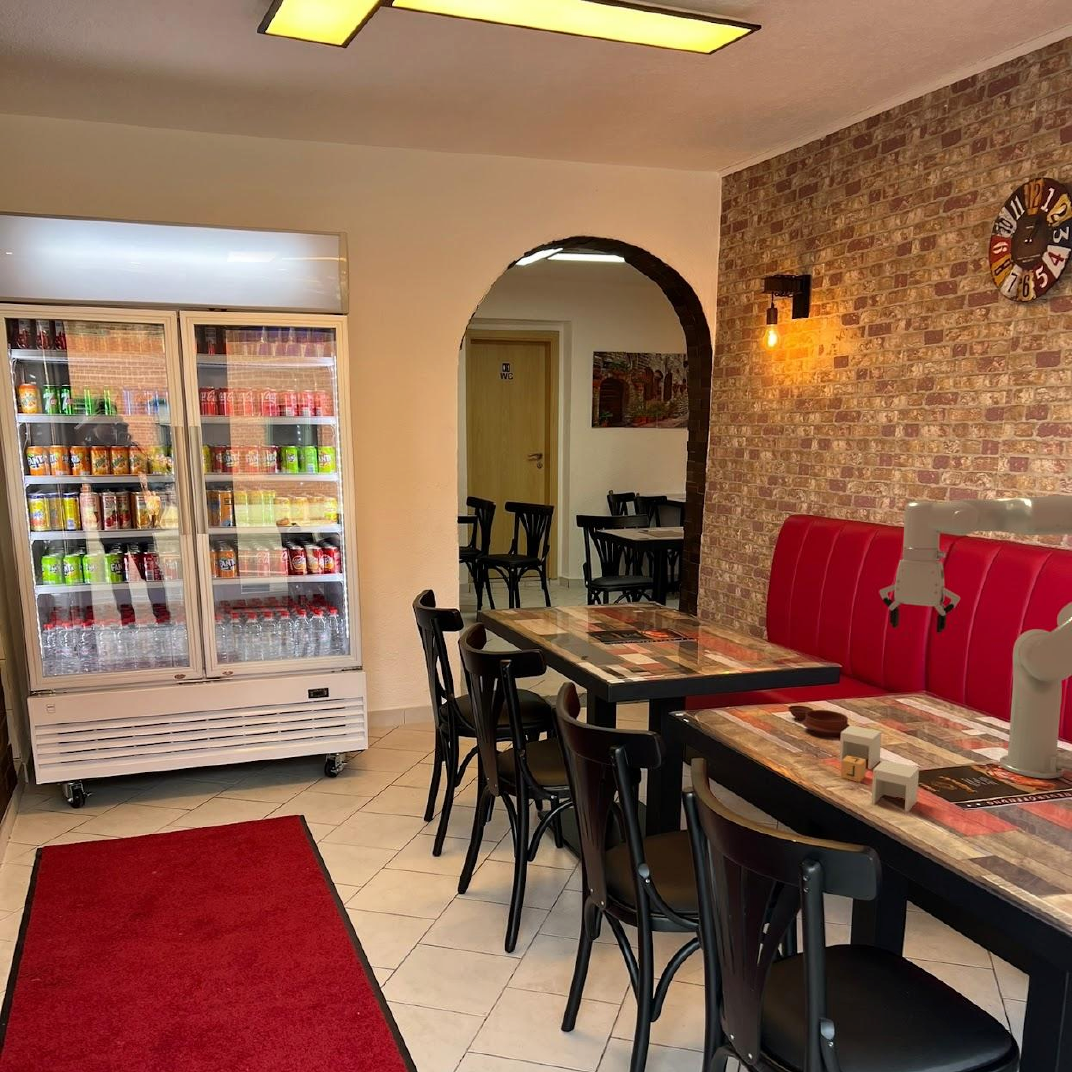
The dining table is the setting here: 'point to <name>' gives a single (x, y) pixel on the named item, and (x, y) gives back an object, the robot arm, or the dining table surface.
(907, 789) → the cover empty
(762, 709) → the dining table surface
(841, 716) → the pottery
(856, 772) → the letter cube
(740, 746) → the dining table surface
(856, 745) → the cover cube
